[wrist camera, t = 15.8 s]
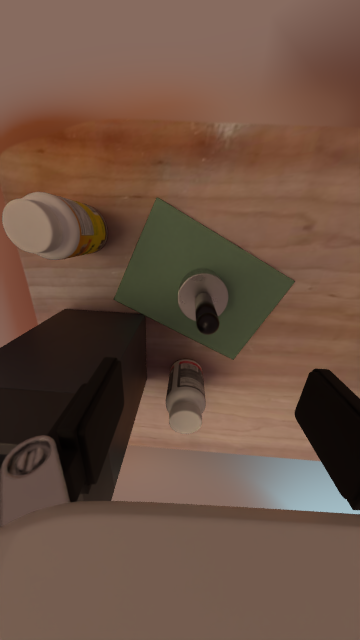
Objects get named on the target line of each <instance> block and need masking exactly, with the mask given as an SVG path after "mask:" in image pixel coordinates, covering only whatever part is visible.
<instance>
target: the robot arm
mask: <svg viewBox="0 0 360 640" xmlns="http://www.w3.org/2000/svg"><path fill="white" fill-rule="evenodd" d="M123 408H124V391H123V379H122V367H121V361H118V359H117V358H116V357H104V358H103V360H102V361H101V363H100V364H99V366H98V367H97V369H96V370H95V372H94V373H93V375H92V377H91V378H90V380H89V381H88V383H84V384H82V385H81V386H80V388H79V389H78V390H77V392H76V393H75V395H74V396H73V398H72V399H71V401H70V402H69V404H68V405H67V406H66V408H65V409H64V411H63V412H62V414H61V415H60V417H59V418H58V420H57V421H56V422H55V424H54V425H53V427H52V428H51V430H50V431H49V433H48V434H47V436H45V435H41V436H35V437H32V438H29V439H27V440H25V441H23V442H22V443H20V444H19V445H17V446H16V447H15V448H14V449H12V450H11V452H10V453H9V454H8V455H7V456H6V457H5V459H4V461H3V463H2V465H1V469H0V640H360V514H344V513H328V512H314V511H296V510H281V509H264V508H247V507H230V506H211V505H192V504H174V503H154V502H127V501H126V502H125V501H80V502H76V501H77V500H78V497H79V495H80V494H89V491H90V489H91V486H92V484H96V483H97V481H98V479H99V476H100V473H101V470H102V468H103V465H104V462H105V459H106V456H107V453H108V451H109V448H110V445H111V442H112V439H113V437H114V434H115V431H116V428H117V425H118V422H119V420H120V417H121V414H122V411H123ZM295 418H296V420H297V422H298V423H299V425H300V427H301V428H302V430H303V432H304V433H305V435H306V437H307V438H308V440H309V442H310V443H311V445H312V447H313V448H314V450H315V452H316V454H317V455H318V457H319V459H320V460H321V462H322V464H323V465H324V467H325V469H326V470H327V472H328V474H329V475H330V477H331V479H332V480H333V482H334V484H335V486H336V487H337V489H338V491H339V492H340V494H341V495H342V496H343V497H344V498H345V499H347V501H348V502H349V504H350V506H351V507H352V509H353V510H360V399H359V398H358V397H357V396H356V395H355V394H354V393H353V392H352V391H351V390H350V389H349V388H348V387H347V386H346V385H345V384H344V383H343V382H342V381H341V380H339V379H338V378H337V377H336V376H335V375H334V374H333V373H332V372H331V371H330V370H327V369H314V370H313V371H312V372H310V373H309V375H308V378H307V380H306V383H305V386H304V388H303V391H302V394H301V396H300V399H299V402H298V404H297V407H296V410H295Z"/></svg>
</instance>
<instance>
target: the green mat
mask: <svg viewBox="0 0 360 640" xmlns="http://www.w3.org/2000/svg"><path fill="white" fill-rule="evenodd" d="M196 269H208V270H211V271H213V272H215V273H216V274H217V275H218V276H219V277H220V278H221V280H222V281H223V283H224V284H225V286H226V288H227V291H228V303H227V306H226V308H225V310H224V311H223V312H222V314H221V315H219V316H218V318H219V323H220V324H219V328H218V330H217V331H216V332H215V333H213V334H211V335H205V334H202V333H201V332H200V331H199V330H198V329H197V326H196V321H194V320H192V319H190V318H188V317H187V316H185V315H184V314H183V312H182V311H181V309H180V307H179V304H178V292H179V286H180V283H181V281H182V279H183V278H184V277H185V276H186V275H187V274H188V273H189V272H191V271H193V270H196ZM294 282H295V281H294V280H292V279H290V278H289V277H287V276H285V275H284V274H282V273H280V272H279V271H277V270H276V269H274V268H272V267H271V266H269V265H267V264H266V263H264V262H262V261H261V260H259V259H258V258H256V257H254V256H253V255H251V254H249V253H248V252H246V251H244V250H243V249H241V248H239V247H238V246H236V245H235V244H233V243H231V242H230V241H228V240H226V239H225V238H223V237H221V236H220V235H218V234H217V233H215V232H213V231H212V230H210V229H208V228H207V227H205V226H203V225H202V224H200V223H198V222H197V221H195V220H194V219H192V218H190V217H189V216H187V215H185V214H184V213H182V212H180V211H179V210H177V209H176V208H174V207H172V206H171V205H169V204H167V203H166V202H164V201H162V200H161V199H159V198H156V200H155V203H154V205H153V207H152V210H151V212H150V215H149V217H148V219H147V222H146V224H145V226H144V229H143V231H142V234H141V236H140V238H139V241H138V243H137V245H136V248H135V250H134V252H133V255H132V257H131V260H130V262H129V264H128V267H127V269H126V271H125V274H124V276H123V278H122V281H121V283H120V286H119V288H118V290H117V293H116V295H115V297H114V300H115V301H117V302H119V303H121V304H123V305H125V306H127V307H129V308H131V309H133V310H135V311H137V312H139V313H141V314H143V315H145V316H147V317H149V318H151V319H153V320H155V321H157V322H159V323H161V324H163V325H165V326H167V327H169V328H171V329H173V330H175V331H177V332H179V333H181V334H183V335H185V336H187V337H189V338H191V339H193V340H195V341H197V342H199V343H201V344H203V345H205V346H207V347H209V348H211V349H213V350H215V351H217V352H219V353H221V354H223V355H225V356H227V357H229V358H231V359H233V360H234V358H235V357H236V356H237V354H238V353H239V352H240V351H241V349H242V348H243V347H244V346H245V344H246V343H247V342H248V341H249V339H250V338H251V337H252V336H253V334H254V333H255V332H256V330H257V329H258V328H259V327H260V325H261V324H262V323H263V322H264V320H265V319H266V318H267V317H268V315H269V314H270V313H271V311H272V310H273V309H274V308H275V306H276V305H277V304H278V303H279V301H280V300H281V299H282V298H283V296H284V295H285V294H286V292H287V291H288V290H289V289H290V287H291V286H292V285H293V284H294Z"/></svg>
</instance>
